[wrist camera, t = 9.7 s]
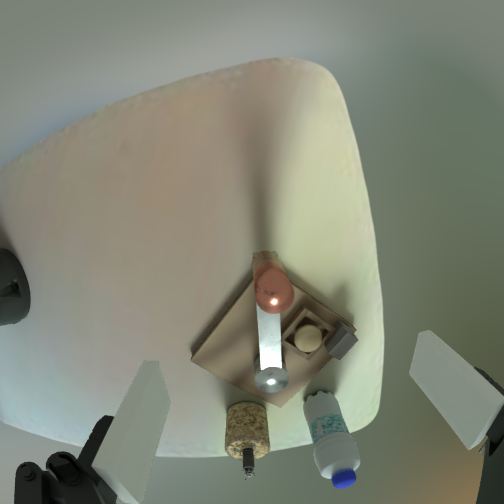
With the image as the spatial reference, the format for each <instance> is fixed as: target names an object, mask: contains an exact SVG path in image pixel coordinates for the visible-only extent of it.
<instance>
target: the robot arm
mask: <svg viewBox="0 0 504 504" xmlns="http://www.w3.org/2000/svg"><path fill="white" fill-rule="evenodd" d="M29 309H30V291H29V286H28V282H27V279H26V276H25V273H24V271H23V269H22V267H21V265H20V263H19V262H18V260H17V259H16V258H15V256H14V255H13V254H12V253H11V252H9V251H8V250H6V249H2V248H0V326H1V325H7V324H15V323H18V322H19V321H21V320H22V319H24V318H25V317H26V316H27V314H28V312H29ZM409 375H410V376H411V377H412V378H413V379H414V381H415V382H416V383H417V384H418V386H419V387H420V388H421V389H422V390H423V392H424V393H425V394H426V396H427V397H428V398H429V399H430V401H431V402H432V403H433V404H434V406H435V407H436V408H437V409H438V411H439V412H440V413H441V415H442V416H443V417H444V418H445V420H446V421H447V422H448V423H449V425H450V426H451V427H452V429H453V430H454V432H455V433H456V434H457V436H458V437H459V438H460V440H461V441H462V442H463V444H464V445H465V446H466V448H467V449H468V450H470V449H471V448H473V447H475V446H476V445H478V444H479V443H480V442H481V441H482V439H483V438H484V436H485V435H487V436H488V439H487V441H486V442H485V443H484V445H483V446H482V448H481V449H480V450H479V453H478V454H480V453H481V452H482V451H483V449H484V448H485V451H484V453H483V454H484V464H483V470H482V477H481V482H480V487H479V492H478V497H477V501H476V504H504V389H503V388H502V387H501V386H500V385H498V384H497V383H496V382H494V380H493V379H492V378H490V377H489V375H487V374H486V373H485V372H484V371H483V370H481V369H479V368H476V367H474V368H473V367H472V366H471V365H470V364H468V363H467V362H466V361H465V360H464V359H463V358H462V357H461V356H459V355H458V354H457V353H456V352H455V351H454V350H453V349H451V348H450V347H449V346H448V345H447V344H446V343H444V342H443V341H442V340H441V339H440V338H439V337H437V336H436V335H435V334H434V333H433V332H431V331H430V330H427V331H423V332H419V334H418V339H417V344H416V348H415V352H414V356H413V360H412V364H411V368H410V371H409ZM170 404H171V401H170V397H169V394H168V391H167V388H166V385H165V381H164V378H163V375H162V371H161V368H160V364H159V361H148V360H144V361H143V363H142V365H141V367H140V369H139V371H138V373H137V374H136V376H135V378H134V380H133V382H132V384H131V386H130V388H129V390H128V392H127V394H126V396H125V397H124V399H123V401H122V403H121V405H120V407H119V409H118V411H117V413H116V415H115V417H113V416H108V415H105V416H104V417H102V418H101V419H100V420H99V421H98V422H97V423H96V425H95V427H94V429H93V430H92V431H93V432H91V434H90V436H89V439H88V440H87V442H86V444H85V446H84V447H83V449H82V451H81V454H80V455H79V457H78V459H76V458H75V457H74V456H73V455H72V454H70V453H68V452H56V453H54V454H52V455H51V456H50V457H49V458H48V460H47V462H46V469H47V470H48V471H43V470H42V469H41V468H40V467H39V466H38V465H37V464H35V463H33V462H24V463H23V464H21V465H20V466H19V467H18V468H17V471H16V477H15V495H14V504H116V499H117V496H118V497H119V498H120V499H121V500H122V501H123V502H126V503H130V504H142V502H143V498H144V494H145V490H146V486H147V483H148V479H149V476H150V472H151V468H152V465H153V461H154V458H155V454H156V451H157V447H158V444H159V440H160V437H161V434H162V430H163V427H164V423H165V420H166V417H167V413H168V410H169V407H170Z"/></svg>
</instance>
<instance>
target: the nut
mask: <svg viewBox="0 0 504 504" xmlns="http://www.w3.org/2000/svg"><path fill="white" fill-rule="evenodd" d="M294 342H295V345H296V346H297V348H298V349H300V350H301V351H304V352H312V351H314V350H316V349H317V348H318V347H319V346H320V344H321V342H322V334H321V331H320V330H319V329H318V328H317V327H316V326H314V325H310V324H307V325H303V326H301V327H300V328H298V329H297V331H296V332H295V335H294Z"/></svg>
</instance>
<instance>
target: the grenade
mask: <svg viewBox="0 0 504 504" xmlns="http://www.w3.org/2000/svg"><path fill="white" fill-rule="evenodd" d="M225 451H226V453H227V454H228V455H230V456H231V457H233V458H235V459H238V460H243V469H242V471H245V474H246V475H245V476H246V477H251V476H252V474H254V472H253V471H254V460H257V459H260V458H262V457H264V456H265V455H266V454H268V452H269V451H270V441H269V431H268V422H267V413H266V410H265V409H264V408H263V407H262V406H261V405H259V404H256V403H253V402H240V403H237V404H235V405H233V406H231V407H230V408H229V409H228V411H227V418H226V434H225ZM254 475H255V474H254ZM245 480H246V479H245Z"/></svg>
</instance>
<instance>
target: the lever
mask: <svg viewBox="0 0 504 504" xmlns="http://www.w3.org/2000/svg"><path fill="white" fill-rule="evenodd" d="M252 270H253V279H254V289H255V298H256V307H257V321H258V335H259V349H260V363H259V364H258V365H257V366H256V368H255V370H254V376H255V385H256V387H257V388H258V389H259V390H261V391H263V392H267V393H274V392H278V391H280V390H282V389H284V388H285V387H286V386H287V384H288V382H289V376H288V372H287V368H286V365H285V364H284V363H283V362H282V361H281V328H280V313H282V312H284V311H286V310H287V309H288V308H289V307H290V306H291V305H292V303H293V301H294V296H295V294H294V289H293V287H292V285H291V283H290V281H289V279H288V277H287V275H286V273H285V271H284V269H283V267H282V265H281V263H280V261H279V259H278V256H277V253H276V251H273V252H270V251H262V252H259V253H253V261H252Z"/></svg>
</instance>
